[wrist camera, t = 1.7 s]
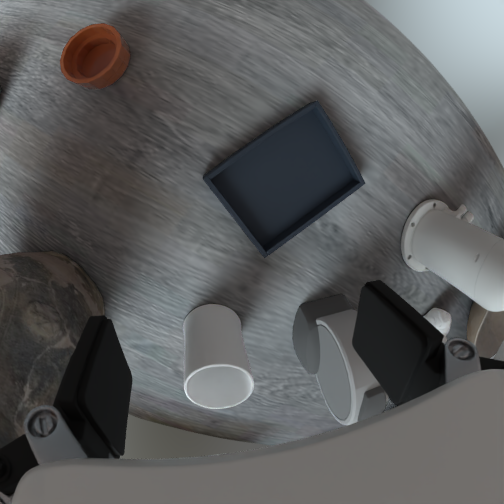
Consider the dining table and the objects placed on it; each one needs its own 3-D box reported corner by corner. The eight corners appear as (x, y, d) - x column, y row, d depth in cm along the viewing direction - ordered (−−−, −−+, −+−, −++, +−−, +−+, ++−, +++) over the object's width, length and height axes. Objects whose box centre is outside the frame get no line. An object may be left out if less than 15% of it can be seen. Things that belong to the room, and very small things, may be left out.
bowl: (444, 358, 58) (465, 381, 49) (453, 276, 47) (486, 299, 38) (501, 310, 59) (523, 327, 50) (513, 230, 48) (541, 245, 39)
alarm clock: (346, 356, 49) (394, 429, 32) (294, 372, 47) (330, 455, 31) (352, 280, 42) (423, 354, 26) (289, 296, 41) (342, 387, 25)
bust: (400, 344, 54) (437, 372, 48) (396, 353, 48) (437, 384, 42) (432, 298, 51) (470, 327, 45) (432, 302, 45) (475, 334, 39)
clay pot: (110, 217, 33) (-43, 409, 5) (139, 359, 41) (121, 542, 14) (-13, 231, 29) (-143, 340, 1) (29, 353, 37) (-29, 487, 10)
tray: (310, 102, 32) (317, 100, 30) (356, 180, 37) (365, 183, 34) (202, 176, 33) (202, 179, 31) (260, 251, 38) (264, 258, 36)
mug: (212, 369, 44) (220, 428, 33) (164, 351, 41) (160, 411, 30) (252, 317, 41) (270, 375, 30) (200, 293, 39) (203, 352, 28)
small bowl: (112, 27, 24) (101, 12, 19) (142, 62, 26) (133, 50, 22) (67, 65, 24) (50, 56, 20) (94, 101, 27) (79, 96, 22)
